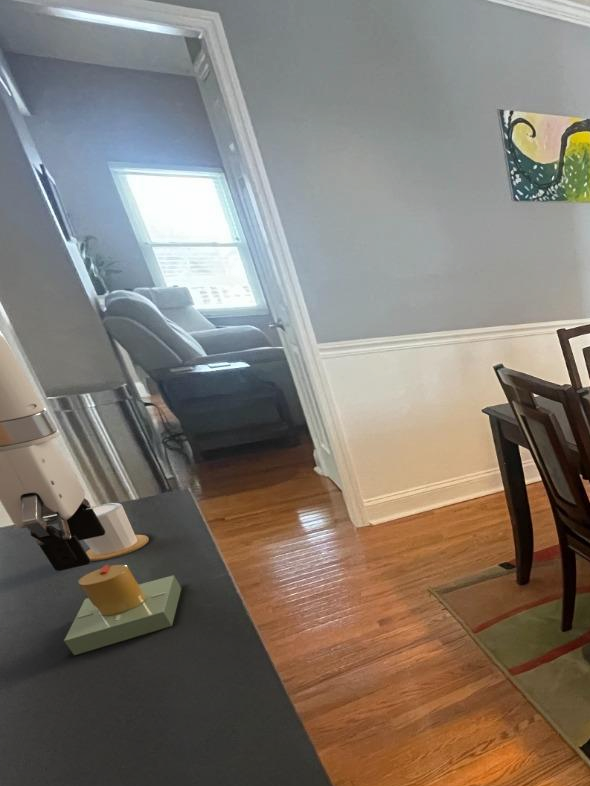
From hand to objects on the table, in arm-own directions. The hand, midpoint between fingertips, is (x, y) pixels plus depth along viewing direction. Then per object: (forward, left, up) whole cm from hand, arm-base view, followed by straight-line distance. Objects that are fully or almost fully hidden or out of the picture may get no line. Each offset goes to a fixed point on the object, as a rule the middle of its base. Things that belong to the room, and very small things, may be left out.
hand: (82, 551), depth 80 cm
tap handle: (+1, 0, -9) cm, 9 cm away
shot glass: (-5, +31, -11) cm, 33 cm away
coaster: (-5, +31, -12) cm, 33 cm away
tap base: (+1, 0, -12) cm, 12 cm away
